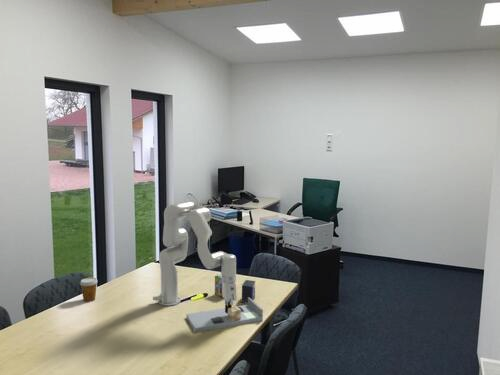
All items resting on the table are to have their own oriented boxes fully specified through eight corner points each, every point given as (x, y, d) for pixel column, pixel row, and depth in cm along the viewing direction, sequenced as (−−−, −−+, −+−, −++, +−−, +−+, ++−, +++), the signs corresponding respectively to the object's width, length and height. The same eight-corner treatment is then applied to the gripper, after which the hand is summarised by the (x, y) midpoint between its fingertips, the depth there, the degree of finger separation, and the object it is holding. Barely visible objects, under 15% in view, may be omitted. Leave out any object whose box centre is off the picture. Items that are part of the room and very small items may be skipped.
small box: (252, 304, 230) (252, 286, 229) (241, 303, 231) (241, 285, 230) (255, 297, 240) (255, 280, 239) (245, 296, 241) (245, 279, 240)
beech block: (232, 321, 202) (232, 311, 201) (227, 317, 206) (227, 308, 205) (240, 319, 204) (240, 309, 204) (236, 315, 208) (236, 306, 208)
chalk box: (225, 298, 238) (225, 274, 237) (214, 294, 244) (214, 271, 242) (235, 294, 245) (235, 270, 244) (224, 290, 251) (224, 267, 249)
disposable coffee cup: (101, 297, 238) (100, 277, 236) (93, 303, 228) (92, 283, 227) (85, 296, 238) (85, 277, 237) (77, 302, 229) (76, 282, 228)
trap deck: (195, 332, 193) (195, 320, 193) (186, 317, 210) (186, 306, 209) (262, 320, 207) (262, 309, 207) (249, 307, 224) (249, 297, 223)
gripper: (240, 282, 201) (240, 316, 203) (230, 273, 215) (230, 306, 217) (226, 283, 198) (226, 319, 200) (217, 274, 212) (217, 308, 214)
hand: (228, 312), depth 208 cm, fingers closed
